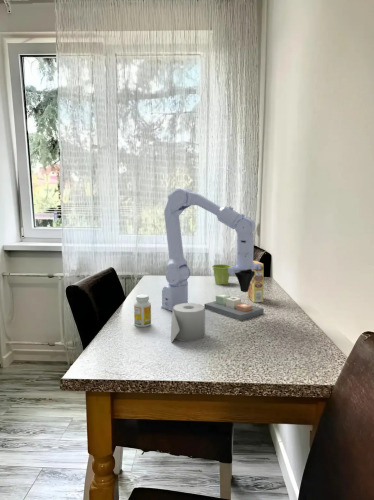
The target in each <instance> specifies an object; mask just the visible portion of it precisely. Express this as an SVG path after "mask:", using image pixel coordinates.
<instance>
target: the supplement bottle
mask: <svg viewBox="0 0 374 500" xmlns="http://www.w3.org/2000/svg"><path fill="white" fill-rule="evenodd" d="M149 299H150V296H149V295H148V294H145V293H144V294H143V293H142V294H137V295H136V297H135V300H136V301H135V302H134V305H133V307H134V308H133V310H134V311H133V313H134V315H133V316H134V326H135V327H139V328H146V327H149V326H151V324H152V304H151V302H150V301H149Z"/></svg>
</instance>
